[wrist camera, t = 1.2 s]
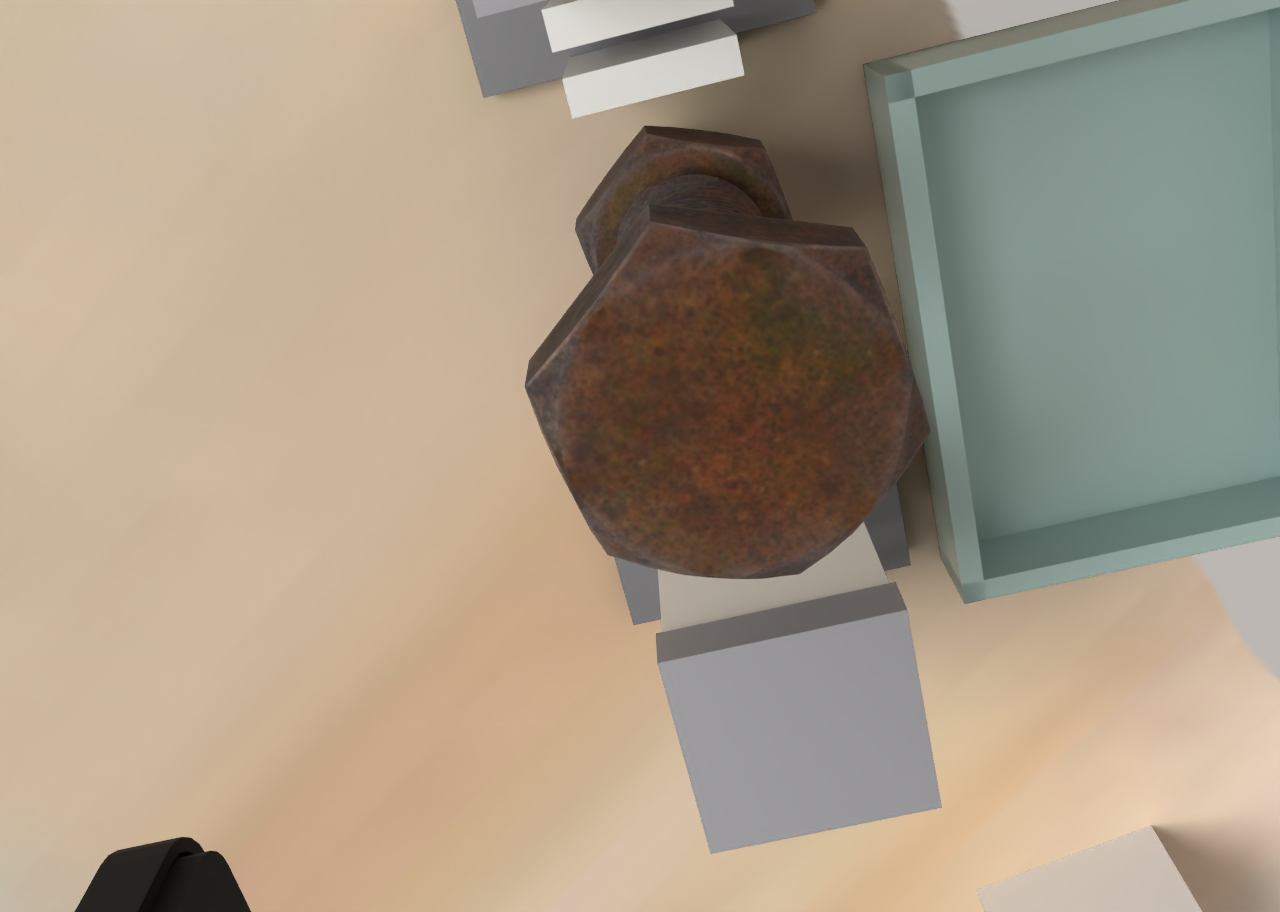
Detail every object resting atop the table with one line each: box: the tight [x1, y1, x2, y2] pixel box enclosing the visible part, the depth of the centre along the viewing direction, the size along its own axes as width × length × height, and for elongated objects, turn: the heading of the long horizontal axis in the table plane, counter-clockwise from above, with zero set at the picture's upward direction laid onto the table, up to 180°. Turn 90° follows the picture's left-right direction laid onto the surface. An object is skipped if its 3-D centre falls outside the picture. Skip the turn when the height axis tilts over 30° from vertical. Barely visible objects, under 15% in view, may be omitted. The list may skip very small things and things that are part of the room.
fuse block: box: [456, 0, 942, 854], centre depth 25 cm, size 23×8×12 cm, turn 14°
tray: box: [863, 0, 1280, 604], centre depth 30 cm, size 14×10×2 cm
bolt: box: [525, 126, 931, 579], centre depth 23 cm, size 6×5×15 cm
